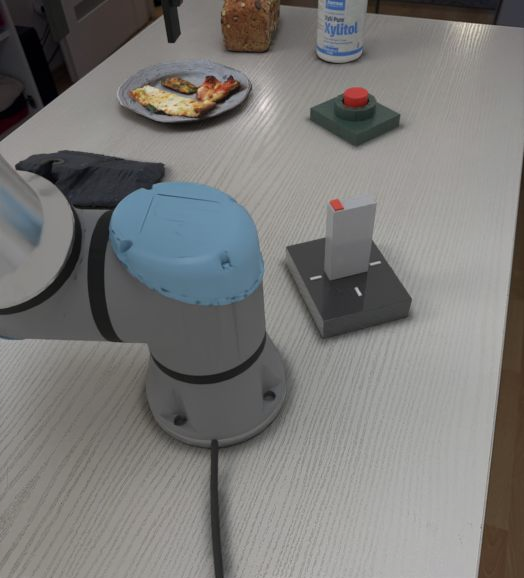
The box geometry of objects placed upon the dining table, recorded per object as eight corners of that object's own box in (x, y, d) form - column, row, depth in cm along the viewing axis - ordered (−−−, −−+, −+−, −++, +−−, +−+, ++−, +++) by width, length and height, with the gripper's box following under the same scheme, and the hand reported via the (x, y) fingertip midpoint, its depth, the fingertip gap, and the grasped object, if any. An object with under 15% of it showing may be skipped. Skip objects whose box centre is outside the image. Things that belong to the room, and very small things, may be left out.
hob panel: (408, 316, 66) (412, 298, 63) (322, 338, 64) (323, 320, 62) (362, 245, 74) (364, 227, 72) (286, 263, 73) (285, 245, 70)
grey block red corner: (361, 261, 68) (369, 190, 60) (367, 271, 67) (377, 200, 59) (323, 270, 67) (327, 200, 59) (329, 280, 66) (333, 210, 58)
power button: (372, 103, 92) (373, 92, 91) (354, 111, 91) (355, 100, 89) (356, 95, 94) (356, 84, 93) (338, 102, 93) (339, 92, 91)
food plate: (275, 93, 104) (275, 74, 101) (189, 146, 93) (186, 126, 90) (184, 61, 115) (181, 43, 112) (98, 105, 104) (92, 87, 101)
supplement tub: (322, 67, 110) (325, -17, 98) (311, 48, 116) (313, -33, 104) (368, 61, 110) (377, -23, 99) (355, 42, 116) (361, -39, 105)
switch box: (398, 126, 94) (402, 103, 91) (355, 146, 90) (357, 123, 87) (351, 101, 100) (353, 79, 97) (309, 119, 97) (310, 97, 94)
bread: (269, 53, 115) (267, 0, 107) (220, 52, 117) (215, 0, 109) (282, 19, 127) (282, -31, 119) (238, 19, 128) (234, -31, 121)
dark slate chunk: (137, 223, 80) (129, 195, 76) (6, 207, 84) (-7, 180, 81) (173, 166, 89) (167, 139, 86) (53, 154, 94) (43, 128, 90)
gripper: (207, -248, 46) (230, 26, 62) (-54, -230, 50) (31, 24, 66) (184, -242, 42) (215, 53, 58) (-103, -224, 45) (2, 48, 61)
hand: (117, 38), depth 62 cm, fingers open, 13 cm apart
